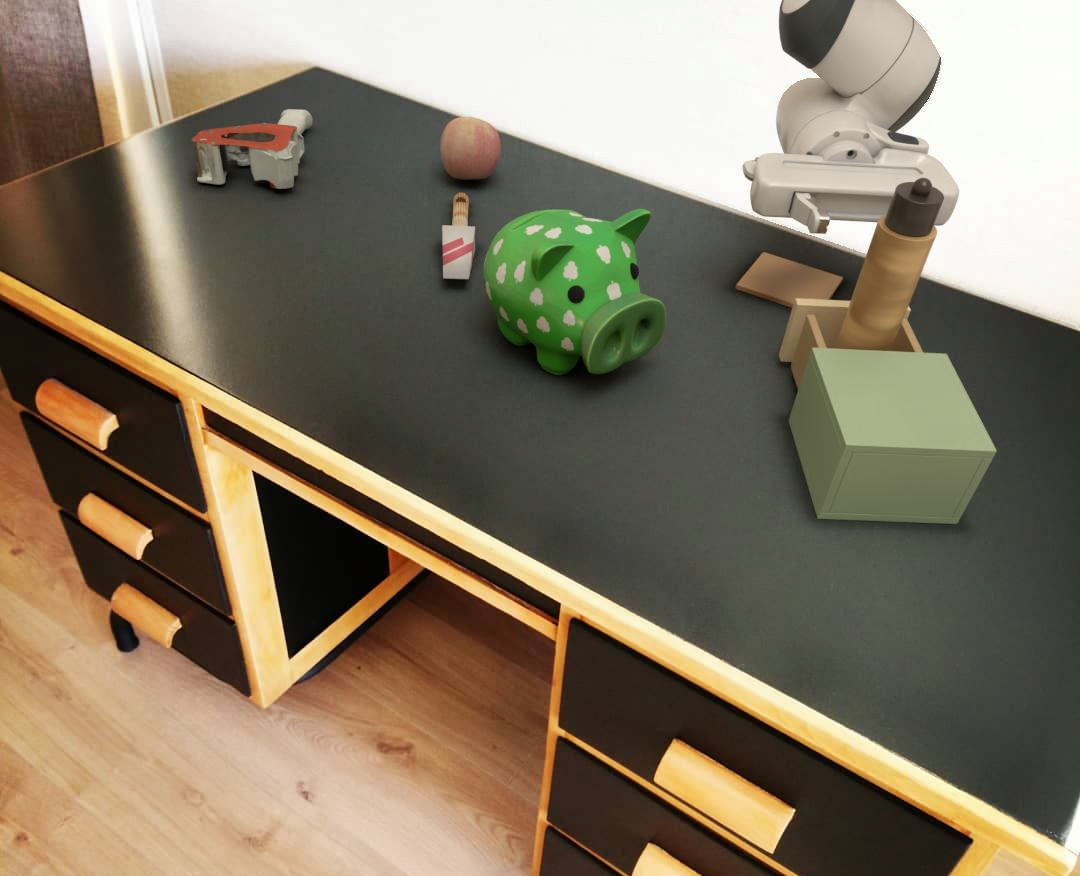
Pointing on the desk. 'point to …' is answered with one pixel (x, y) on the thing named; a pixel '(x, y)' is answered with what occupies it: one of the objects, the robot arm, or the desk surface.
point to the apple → (470, 148)
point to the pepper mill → (892, 268)
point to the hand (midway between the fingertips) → (869, 229)
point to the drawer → (826, 332)
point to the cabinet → (888, 436)
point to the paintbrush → (458, 241)
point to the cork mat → (787, 281)
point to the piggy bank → (573, 289)
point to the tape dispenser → (254, 149)
